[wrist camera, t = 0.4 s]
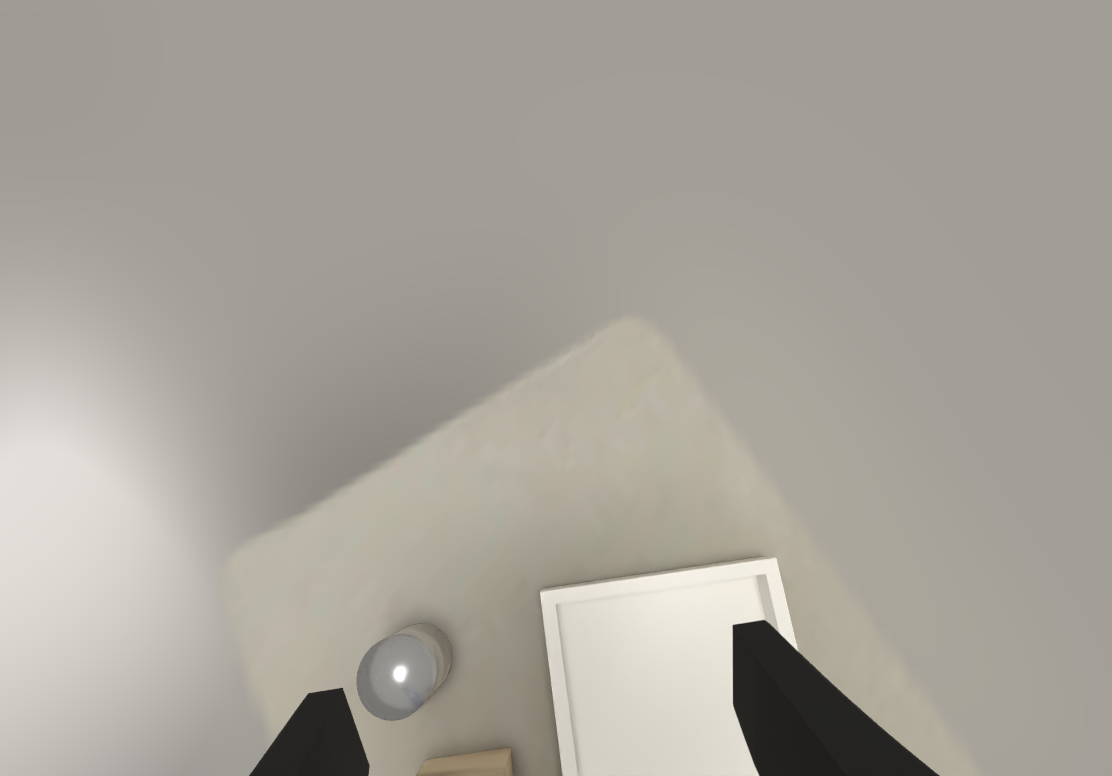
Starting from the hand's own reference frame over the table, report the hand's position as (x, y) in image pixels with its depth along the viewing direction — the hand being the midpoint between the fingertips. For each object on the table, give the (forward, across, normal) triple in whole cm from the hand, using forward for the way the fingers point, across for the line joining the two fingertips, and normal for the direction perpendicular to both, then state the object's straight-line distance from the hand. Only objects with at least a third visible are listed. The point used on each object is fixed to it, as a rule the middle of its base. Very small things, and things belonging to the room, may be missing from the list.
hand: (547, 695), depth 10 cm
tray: (+16, -6, +21) cm, 27 cm away
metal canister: (+19, +9, +18) cm, 27 cm away
